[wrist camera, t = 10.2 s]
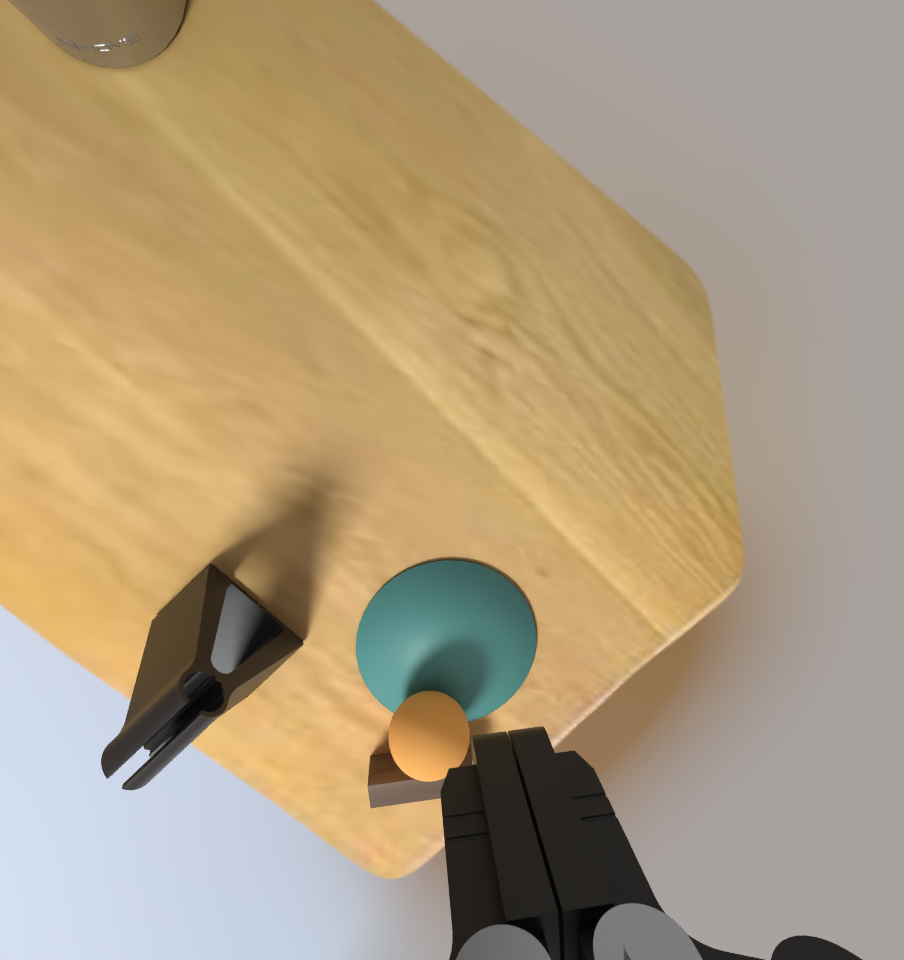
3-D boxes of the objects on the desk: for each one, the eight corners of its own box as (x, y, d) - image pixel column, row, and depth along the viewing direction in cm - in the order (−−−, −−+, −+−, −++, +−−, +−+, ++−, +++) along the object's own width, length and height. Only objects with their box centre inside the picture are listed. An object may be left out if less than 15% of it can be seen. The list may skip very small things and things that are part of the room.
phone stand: (304, 642, 38) (261, 760, 27) (249, 693, 39) (182, 832, 27) (211, 562, 36) (121, 653, 25) (154, 617, 37) (39, 731, 25)
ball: (384, 681, 37) (381, 774, 33) (466, 676, 37) (472, 768, 33) (395, 707, 42) (392, 791, 38) (467, 702, 42) (473, 786, 38)
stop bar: (370, 756, 41) (367, 785, 38) (468, 742, 42) (473, 771, 39) (373, 777, 41) (370, 808, 38) (470, 763, 42) (475, 793, 39)
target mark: (345, 570, 37) (345, 571, 37) (531, 550, 38) (532, 551, 38) (367, 734, 40) (367, 736, 40) (539, 711, 42) (540, 713, 41)
